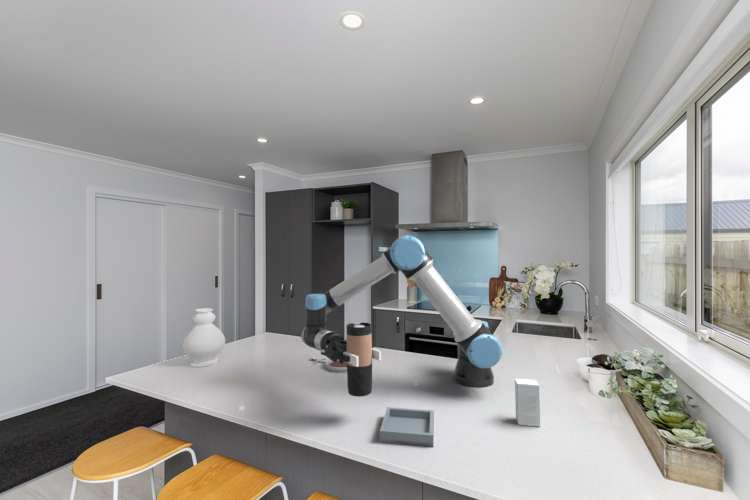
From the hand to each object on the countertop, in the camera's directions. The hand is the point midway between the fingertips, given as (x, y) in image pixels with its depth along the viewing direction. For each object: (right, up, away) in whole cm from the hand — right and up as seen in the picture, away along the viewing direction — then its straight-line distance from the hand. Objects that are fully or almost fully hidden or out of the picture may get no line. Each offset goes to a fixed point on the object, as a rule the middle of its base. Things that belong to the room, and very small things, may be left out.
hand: (369, 358), depth 98 cm
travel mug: (-3, -11, +4) cm, 12 cm away
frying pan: (-17, -21, +56) cm, 62 cm away
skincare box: (+46, -19, +1) cm, 50 cm away
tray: (+11, -20, -2) cm, 23 cm away
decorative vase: (-78, -22, +61) cm, 101 cm away
